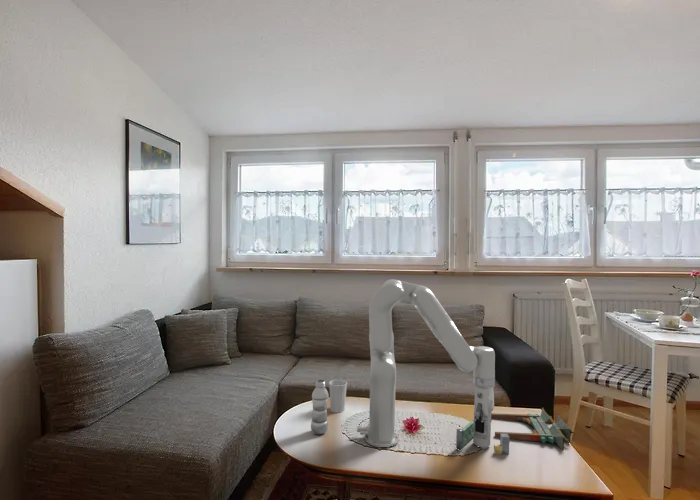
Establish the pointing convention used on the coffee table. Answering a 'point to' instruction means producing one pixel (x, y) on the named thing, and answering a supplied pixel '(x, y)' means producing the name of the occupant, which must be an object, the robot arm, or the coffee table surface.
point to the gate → (468, 432)
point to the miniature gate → (538, 428)
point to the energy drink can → (483, 438)
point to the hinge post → (459, 439)
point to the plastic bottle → (319, 408)
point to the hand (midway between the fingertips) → (483, 426)
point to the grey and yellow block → (502, 445)
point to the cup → (337, 395)
